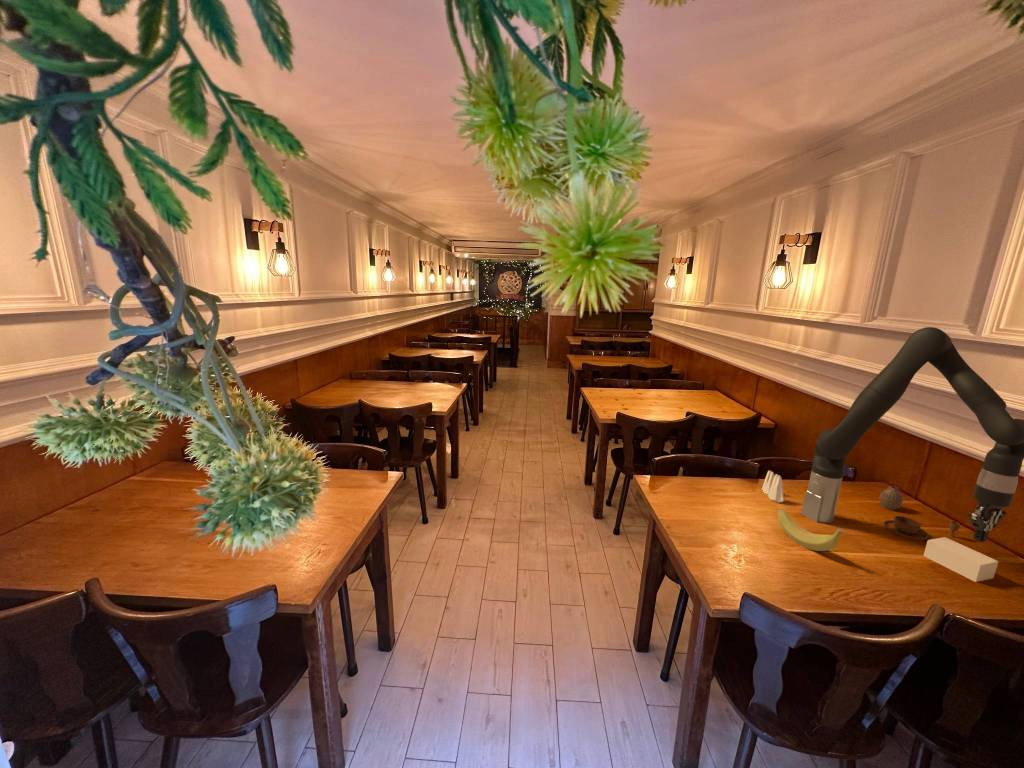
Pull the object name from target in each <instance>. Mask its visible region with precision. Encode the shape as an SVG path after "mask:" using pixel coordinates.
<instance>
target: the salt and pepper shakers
mask: <svg viewBox="0 0 1024 768" xmlns="http://www.w3.org/2000/svg"><path fill="white" fill-rule="evenodd" d="M766 473H767V474H766V476H765V478H764V482H763V485H762V487H761V491H762V490H763V491H762V492H764V493H763V494H765V493H766V494H765V495H767V494H768V495H767V497H768V498H769V500H770V501H772V502H774V503H783V502H784V501H785V499H784V497H785V496H784V487H783V486H784V484H783V479H782V476H781V475H778V474H775V473H774V472H773V471H771V470H768V471H767V472H766Z"/></svg>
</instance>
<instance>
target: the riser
mask: <svg viewBox="0 0 1024 768" xmlns="http://www.w3.org/2000/svg"><path fill="white" fill-rule="evenodd" d="M923 557H924V558H927V559H929V560H931V561H933V562H935V563H937V564H939V565H941V566H943V567H945V568H947V569H949V570H951V571H953V572H955V573H956V574H958V575H961V576H963V577H964V578H967V579H968V580H971V581H972V582H974V583H977V582H982V581H987V580H992V579H994V578H995V573H996V571H997V568H998V564H999V561H998V560H996V559H995V558H992V557H990V556H987V555H985V554H984V553H981V552H979V551H977V550H974V549H972V548H970V547H968V546H966V545H963V544H960V543H958V542H957V541H955V540H953V539H950V538H948V537H946V536H945V537H939V538H933V539H928V540H927V542H926V545H925V550H924V552H923Z"/></svg>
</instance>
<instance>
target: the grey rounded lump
mask: <svg viewBox="0 0 1024 768" xmlns="http://www.w3.org/2000/svg"><path fill="white" fill-rule="evenodd" d="M878 500H879V503H880V505H881V507H883V508H884V509H887V510H890V511H896V510H898V509H901V506H903V502H904V498H903V495H902V494H901V491H900V489H899V487H898V486H897V487H896V486H894V485H890V486H888V488H886V489H884V490H883V491H881V493H880V495H879V499H878Z"/></svg>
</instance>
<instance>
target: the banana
mask: <svg viewBox="0 0 1024 768" xmlns="http://www.w3.org/2000/svg"><path fill="white" fill-rule="evenodd" d="M777 519H778V523H779V525H780V526H781V529H782V530H783V532H784V533H785V534H786V535H787V537H788V538H789V539H790V540H792V541H794V542H795V543H796V544H798V545H800V546H802V547H804V548H806V549H807V550H811V551H816V552H824V551H830V550H833V549H835V548H836V547H837V546H838V544H839V543H838V539H839V537H840V536H841V535H842V534H844V533H845V530H844V529H842V528H839V527H838V528H837V529H836V531H835V533H833V534H820V533H818V534H817V533H813V532H810V531H809V530H806V529H804V527H802V526H800V525H799V524H798V523H797V521H795V520H794V519H793V517H791V515H790V514H789V513H788V512H787V511H786V510H785V509H784V508H783V507H782V508H781V507H780V508H778V510H777Z"/></svg>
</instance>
